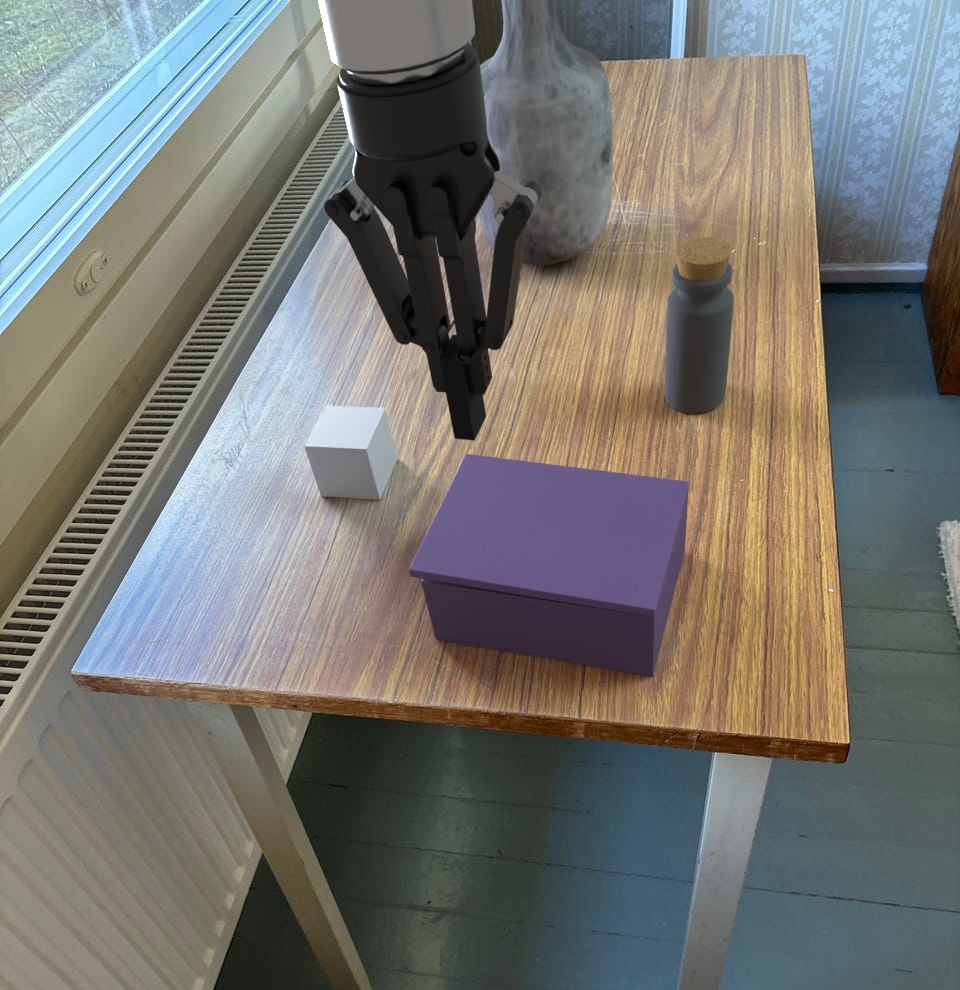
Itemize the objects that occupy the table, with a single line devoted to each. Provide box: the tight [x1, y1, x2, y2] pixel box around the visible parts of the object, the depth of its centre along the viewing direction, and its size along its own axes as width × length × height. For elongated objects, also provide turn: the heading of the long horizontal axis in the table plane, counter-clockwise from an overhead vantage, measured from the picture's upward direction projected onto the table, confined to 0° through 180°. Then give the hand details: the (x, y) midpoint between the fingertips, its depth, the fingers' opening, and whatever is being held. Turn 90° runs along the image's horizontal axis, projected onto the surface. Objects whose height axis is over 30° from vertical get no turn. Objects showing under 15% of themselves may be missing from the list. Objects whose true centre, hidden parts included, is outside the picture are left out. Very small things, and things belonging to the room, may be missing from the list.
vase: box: [477, 0, 614, 266], centre depth 101 cm, size 16×16×30 cm
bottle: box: [664, 236, 735, 415], centre depth 86 cm, size 6×6×15 cm
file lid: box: [408, 453, 690, 617], centre depth 71 cm, size 18×14×1 cm
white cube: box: [303, 405, 399, 501], centre depth 87 cm, size 6×6×6 cm
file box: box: [421, 492, 689, 678], centre depth 74 cm, size 18×14×7 cm
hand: (470, 427), depth 66 cm, fingers closed
